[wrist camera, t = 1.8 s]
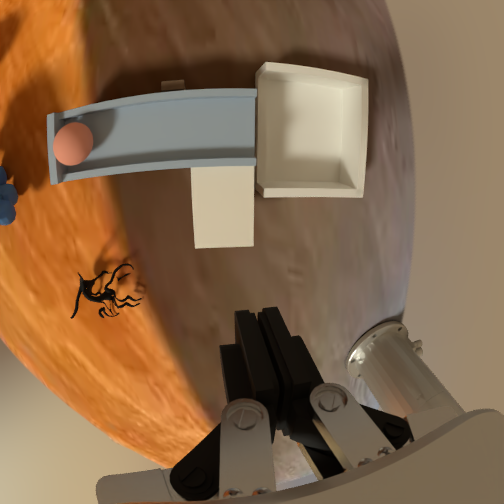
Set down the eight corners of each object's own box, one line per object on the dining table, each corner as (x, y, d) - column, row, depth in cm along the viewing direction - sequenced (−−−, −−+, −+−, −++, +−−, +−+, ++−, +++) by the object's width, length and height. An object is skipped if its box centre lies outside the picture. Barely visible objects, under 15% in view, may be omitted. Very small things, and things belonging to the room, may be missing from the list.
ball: (100, 118, 18) (77, 118, 14) (101, 159, 19) (79, 165, 16) (68, 126, 18) (44, 128, 14) (70, 164, 19) (46, 171, 16)
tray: (346, 84, 24) (368, 79, 20) (342, 188, 29) (362, 197, 25) (255, 72, 23) (265, 61, 19) (254, 188, 27) (264, 197, 23)
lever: (252, 92, 20) (258, 85, 17) (251, 239, 25) (256, 255, 22) (66, 114, 18) (46, 113, 15) (81, 246, 24) (65, 262, 20)
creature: (150, 265, 30) (84, 245, 26) (153, 293, 26) (76, 272, 21) (132, 315, 32) (73, 300, 28) (134, 346, 28) (67, 331, 23)
